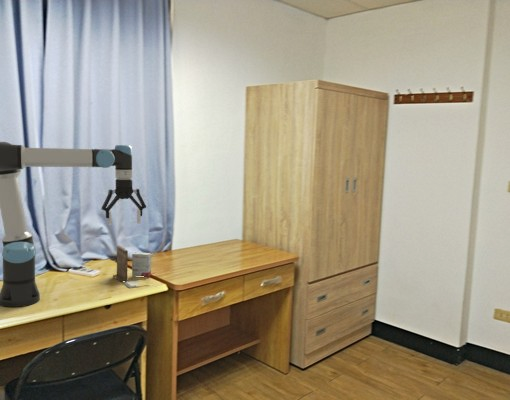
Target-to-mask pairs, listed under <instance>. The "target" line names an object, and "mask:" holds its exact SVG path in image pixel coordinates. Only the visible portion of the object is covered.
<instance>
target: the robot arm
mask: <svg viewBox="0 0 510 400" xmlns="http://www.w3.org/2000/svg"><path fill="white" fill-rule="evenodd" d="M132 149H133V148H132V146H131V145H127V144H126V145H124V144H123V145H122V144H121V145H118V144H117V145H115V147H114V148H113V149H110V148H109V149H108V148H107V149H106V148H105V149H104V148H94V149H93V148H91V149H89V148H54V147H52V148H50V147H25V146H24V145H22V144H13V143H9V142H6V141H0V215H1V219H2V224H3V225H2V226H3V229H4V230H3V231H4V237H3V238H2V240H1V243H2V252H1V256H2V286H1V289H0V306H2V307H5V308H17V307H19V308H20V307H25V306H30V305H34V304H36V303H38V302H39V301H41V298H40V297H41V293H40V290H39V289H38V288H39V287H38V285H37V283H36V254H37V250H36V246H35V244H34V239H33V234H32V233H30V231H28V227H27V221H26V217H25V209H24V205H23V199H22V194H21V188H20V183H19V176H20V174H21V170H24V169H25V168H26V167H29V168H33V167H34V168H35V167H36V168H45V167H46V168H102V169H107V168H108V169H109V168H110V167H114V166H115V168H114V169H115V171H114V172H115V174H114V175H115V189H108V193H107V196H106V197H105V200H104V202H103V204H102V206H101V210H102V211H105V218H106V219H107V226H109V227H110V226H112V211H111V209H112V208H113V207H114V206H115V205H116V203H117V202H118V201H119V200H124V199H125V200H128V199H129V200H131V202H132V203H133V204H134V206H135V207H137V208H138V209H136V223H137V224H138V225H139V224H141V217H143V210H144V209H147V205H146V203H145V201H144V200H143V197H142V195H141V191H140V189H139V188H134V189H133V150H132ZM133 193H134V194H135V195H136V197H137V199H138V201H139V202H138V201H137V199H135V197H134V196H133ZM114 194H115V196H114V198H113V200H111V199H112V196H113V195H114ZM110 201H111V202H110Z"/></svg>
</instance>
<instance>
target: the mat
mask: <svg viewBox="0 0 510 400" xmlns="http://www.w3.org/2000/svg"><path fill="white" fill-rule="evenodd" d="M138 280H139V279H134V280H133V279H132V280H127V281H125V282H123V283H124V284H123V283H122V284H123V285H124V286H126V287H127V286H128V287H129V288H128V287H127V288H128V289H131V288H130V287H134V288H137V287H136V285H140V284H139V283H141V282H140V281H138Z"/></svg>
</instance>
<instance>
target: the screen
mask: <svg viewBox="0 0 510 400" xmlns="http://www.w3.org/2000/svg"><path fill="white" fill-rule="evenodd" d="M128 251H129V250H127V249H126V248H124V247H122V246H121V245H118V246H116V274H113V275H112V276H113V277H114V278H115V277H116V278H117V279H118V280H117V279H116V278H115V279H116V280H117V281H118V282H120V283H122V282H123V281H128V261H129V260H128V258H129V257H128V255H129V254H128V253H129V252H128Z"/></svg>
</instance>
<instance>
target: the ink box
mask: <svg viewBox="0 0 510 400" xmlns="http://www.w3.org/2000/svg"><path fill="white" fill-rule="evenodd" d="M132 276H144V277H147V279H149V278H150V277H151V276H152V253H151V252H138V251H137V252H134V253H132V255H131V277H132Z"/></svg>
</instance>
